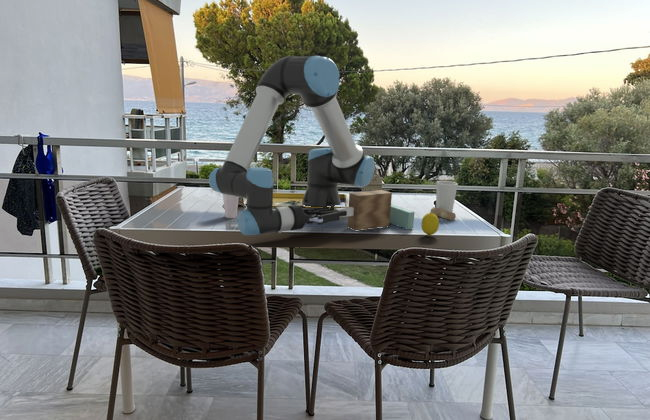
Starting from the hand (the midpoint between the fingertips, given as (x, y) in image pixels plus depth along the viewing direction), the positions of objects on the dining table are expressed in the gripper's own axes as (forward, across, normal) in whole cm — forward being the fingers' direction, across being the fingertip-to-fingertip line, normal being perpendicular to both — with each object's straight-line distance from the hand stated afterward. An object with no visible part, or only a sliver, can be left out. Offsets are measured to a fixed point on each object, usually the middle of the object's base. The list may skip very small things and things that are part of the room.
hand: (352, 211), depth 163 cm
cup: (+48, -5, -6) cm, 48 cm away
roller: (+41, 0, -6) cm, 42 cm away
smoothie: (-30, -31, -7) cm, 43 cm away
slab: (+7, 0, -6) cm, 10 cm away
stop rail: (+19, 0, -6) cm, 20 cm away
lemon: (+20, +16, -7) cm, 26 cm away
